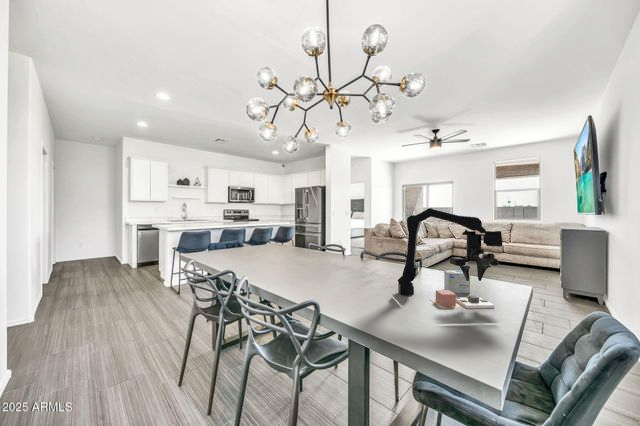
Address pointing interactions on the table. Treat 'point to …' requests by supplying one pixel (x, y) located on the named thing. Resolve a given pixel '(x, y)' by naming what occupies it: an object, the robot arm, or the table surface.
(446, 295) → the pink block
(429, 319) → the table surface
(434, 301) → the pad
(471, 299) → the dark grey block
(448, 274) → the light bulb box
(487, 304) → the panel
